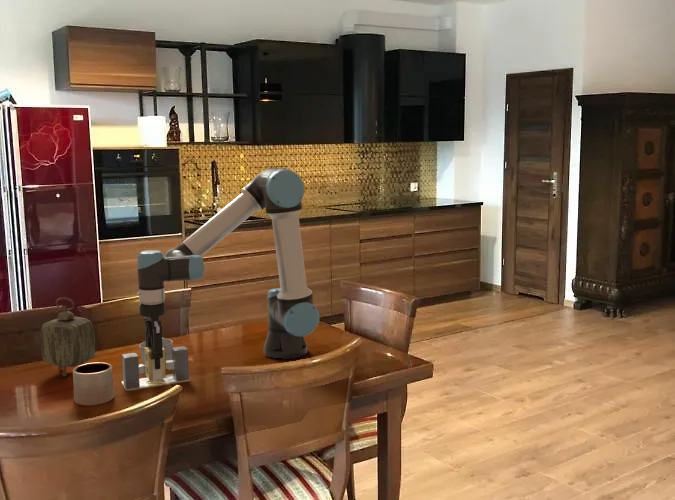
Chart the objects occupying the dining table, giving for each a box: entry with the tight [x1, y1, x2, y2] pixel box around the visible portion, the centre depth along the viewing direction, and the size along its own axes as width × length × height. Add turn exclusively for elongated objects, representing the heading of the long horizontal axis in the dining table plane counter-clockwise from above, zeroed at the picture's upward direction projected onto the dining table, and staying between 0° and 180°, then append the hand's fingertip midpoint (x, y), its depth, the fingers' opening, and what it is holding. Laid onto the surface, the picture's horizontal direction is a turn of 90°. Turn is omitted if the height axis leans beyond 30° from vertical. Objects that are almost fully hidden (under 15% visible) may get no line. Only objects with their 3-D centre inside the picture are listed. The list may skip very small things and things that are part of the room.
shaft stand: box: [121, 345, 191, 392], centre depth 216 cm, size 19×8×10 cm, turn 117°
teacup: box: [138, 336, 174, 367], centre depth 234 cm, size 14×11×8 cm
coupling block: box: [144, 346, 167, 380], centre depth 216 cm, size 5×5×9 cm
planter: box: [72, 361, 115, 407], centre depth 202 cm, size 11×11×10 cm
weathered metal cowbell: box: [39, 296, 96, 377], centre depth 223 cm, size 14×9×25 cm, turn 71°
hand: (155, 375), depth 217 cm, fingers closed on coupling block, 5 cm apart
